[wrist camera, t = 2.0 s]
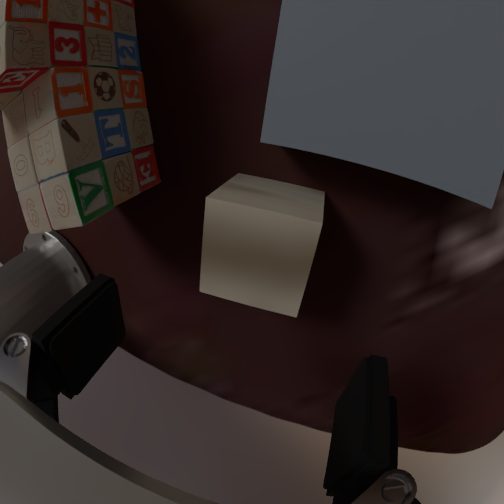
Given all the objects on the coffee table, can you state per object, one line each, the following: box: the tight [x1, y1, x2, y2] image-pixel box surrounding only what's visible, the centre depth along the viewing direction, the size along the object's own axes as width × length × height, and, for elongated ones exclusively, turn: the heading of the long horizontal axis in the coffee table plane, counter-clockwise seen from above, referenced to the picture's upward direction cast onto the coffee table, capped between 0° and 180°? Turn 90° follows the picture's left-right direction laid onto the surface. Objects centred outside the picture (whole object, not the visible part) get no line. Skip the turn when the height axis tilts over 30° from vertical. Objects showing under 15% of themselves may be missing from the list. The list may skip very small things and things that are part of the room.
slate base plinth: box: [260, 0, 504, 209], centre depth 12 cm, size 14×14×4 cm
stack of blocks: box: [0, 0, 161, 234], centre depth 13 cm, size 21×6×12 cm, turn 9°
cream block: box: [200, 173, 325, 317], centre depth 19 cm, size 6×6×6 cm
